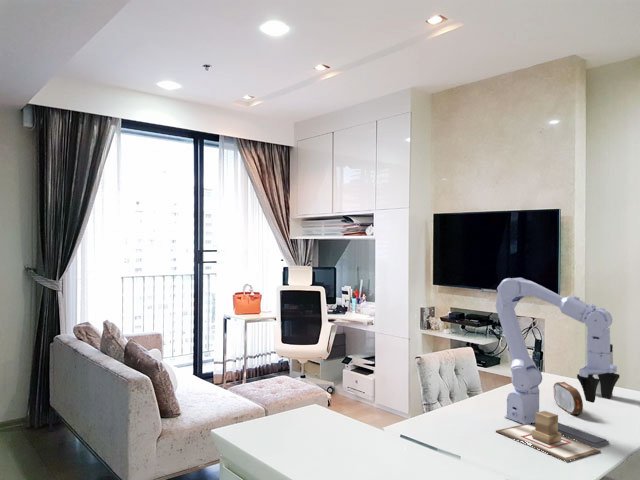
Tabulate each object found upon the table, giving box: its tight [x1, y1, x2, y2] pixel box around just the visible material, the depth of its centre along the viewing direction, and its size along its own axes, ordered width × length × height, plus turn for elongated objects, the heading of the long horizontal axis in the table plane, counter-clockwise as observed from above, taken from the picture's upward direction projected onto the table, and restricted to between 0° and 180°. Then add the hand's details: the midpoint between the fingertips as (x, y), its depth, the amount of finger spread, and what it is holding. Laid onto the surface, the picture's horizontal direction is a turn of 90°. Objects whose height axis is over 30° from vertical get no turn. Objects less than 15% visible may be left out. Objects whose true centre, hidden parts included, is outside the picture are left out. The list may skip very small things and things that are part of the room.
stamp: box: [532, 410, 562, 445], centre depth 131 cm, size 5×5×7 cm
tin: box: [553, 381, 584, 415], centre depth 159 cm, size 15×3×8 cm, turn 179°
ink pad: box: [558, 422, 610, 449], centre depth 136 cm, size 6×17×1 cm, turn 28°
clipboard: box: [495, 424, 602, 462], centre depth 131 cm, size 14×22×1 cm, turn 28°
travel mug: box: [593, 343, 614, 399], centre depth 176 cm, size 6×7×20 cm
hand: (598, 399), depth 135 cm, fingers open, 7 cm apart
